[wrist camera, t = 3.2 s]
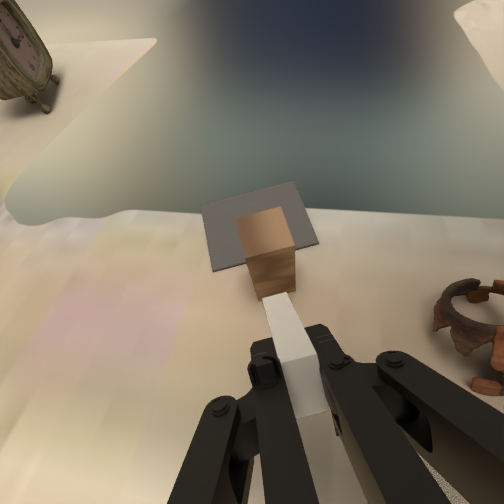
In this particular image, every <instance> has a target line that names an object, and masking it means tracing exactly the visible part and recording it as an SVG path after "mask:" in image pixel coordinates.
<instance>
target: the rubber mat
mask: <svg viewBox="0 0 504 504" xmlns="http://www.w3.org/2000/svg"><path fill="white" fill-rule="evenodd" d="M280 206H281V208H282V211H283V214H284V216H285V219H286V222H287V225H288V228H289V230H290V233H291V236H292V239H293V241H294V244H295V250H298V249H302V248H305V247H309V246H313V245H317V244H319V241H318V239H317V236H316V234H315V232H314V229H313V227H312V224H311V222H310V219H309V217H308V215H307V212H306V210H305V207H304V205H303V203H302V200H301V198H300V195H299V193H298V190H297V188H296V185H295V183H294V181H290V182H287V183H283V184H279V185H275V186H272V187H268V188H265V189H261V190H257V191H253V192H249V193H245V194H242V195H238V196H234V197H230V198H227V199H223V200H219V201H216V202H212V203H208V204H205V205H201V210H202V216H203V221H204V227H205V232H206V238H207V244H208V249H209V255H210V260H211V266H212V271H213V272H215V271H219V270H223V269H227V268H230V267H234V266H238V265H242V264H245V263H246V260H245V256H244V252H243V248H242V244H241V240H240V236H239V232H238V228H237V224H236V220H235V218H239V217H242V216H246V215H250V214H254V213H257V212H261V211H265V210H269V209H272V208H276V207H280Z"/></svg>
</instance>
